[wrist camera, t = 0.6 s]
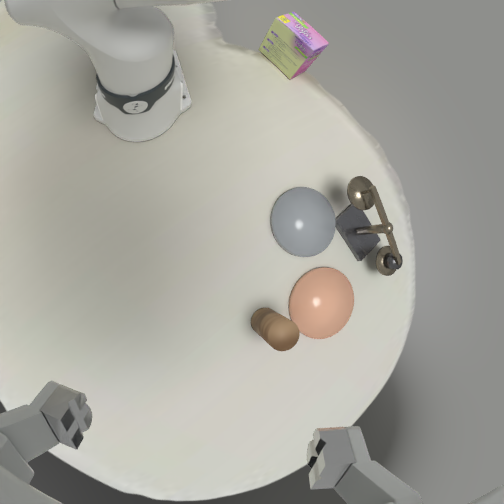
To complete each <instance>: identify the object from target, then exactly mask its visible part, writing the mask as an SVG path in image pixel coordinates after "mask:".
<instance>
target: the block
mask: <svg viewBox="0 0 504 504" xmlns="http://www.w3.org/2000/svg"><path fill="white" fill-rule="evenodd" d="M251 325H252V328H253V329H254V331H255V332H257V333H258V334H259V335H260V336H261V337H262V338H263V339H264V340H265V341H266V342H267V343H268V344H269V345H270V346H272V347H273V348H274V349H275V350H278V351H286V350H289V349H291V348H292V347H293V346H294V345H295V344H296V343H297V341H298V339H299V328H298V326H297V325H296V324H295V323H294V322H293V321H291V320H289V319H287V318H286V317H284V316H282V315H280V314H279V313H277V312H275V311H273V310H272V309H269V308H261V309H259V310H257V311H256V312H255V313H254V314H253V316H252V318H251Z"/></svg>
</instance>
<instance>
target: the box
mask: <svg viewBox="0 0 504 504" xmlns="http://www.w3.org/2000/svg"><path fill="white" fill-rule="evenodd" d="M328 44H329V43H328V42H327V41H326V40H325V39H324V38H323V37H322V36H321V35H320V34H319V33H318V32H317V31H315V30H314V29H313V28H312V27H311V26H310V25H309V24H308V23H306V22H305V21H304V20H303V19H302V18H301V17H300V16H298V15H297V14H296V13H295V12H291V13H288V14H285V15H282V16H279V17H277V18H275V20H274V22H273V24H272V25H271V27H270V29H269V31H268V33H267V35H266V36H265V38H264V40H263V42H262V44H261V46H260V48H259V51H260V52H261V53H263V54H264V55H265V56H266V57H267V58H268V59H269V60H270V61H271V62H272V63H274V64H275V65H276V66H277V67H278V68H279V69H280V70H281V71H282V72H283V73H284V74H285V75H286V76H287V77H288V78H289V79H292V78H294V77H296V76H297V75H299V74H301V73H303V72H304V71H306V69H307V68H308V67H309V66H310V65H311V64H312V62H313V61H314V60H315V59H316V58H317V57H318V56H319V54H320V53H321V52H322V51H323V50H324V49H325V48H326V47H327V45H328Z"/></svg>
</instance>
